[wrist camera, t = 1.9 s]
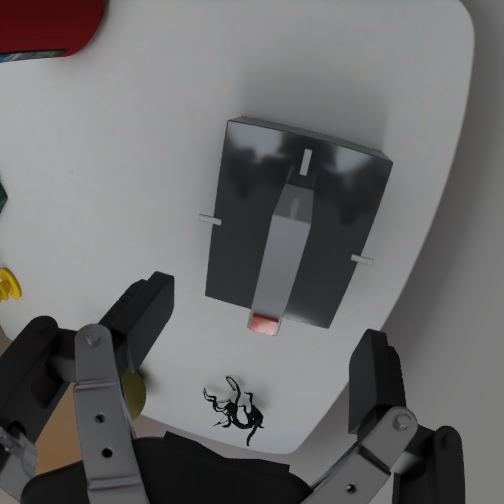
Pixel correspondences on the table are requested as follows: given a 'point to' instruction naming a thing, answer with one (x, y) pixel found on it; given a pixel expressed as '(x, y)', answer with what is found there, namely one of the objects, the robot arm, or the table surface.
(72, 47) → the beverage can
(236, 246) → the plate
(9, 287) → the candle
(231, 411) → the creature
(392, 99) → the table surface
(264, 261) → the tap handle
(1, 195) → the button box
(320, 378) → the table surface
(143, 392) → the apple
